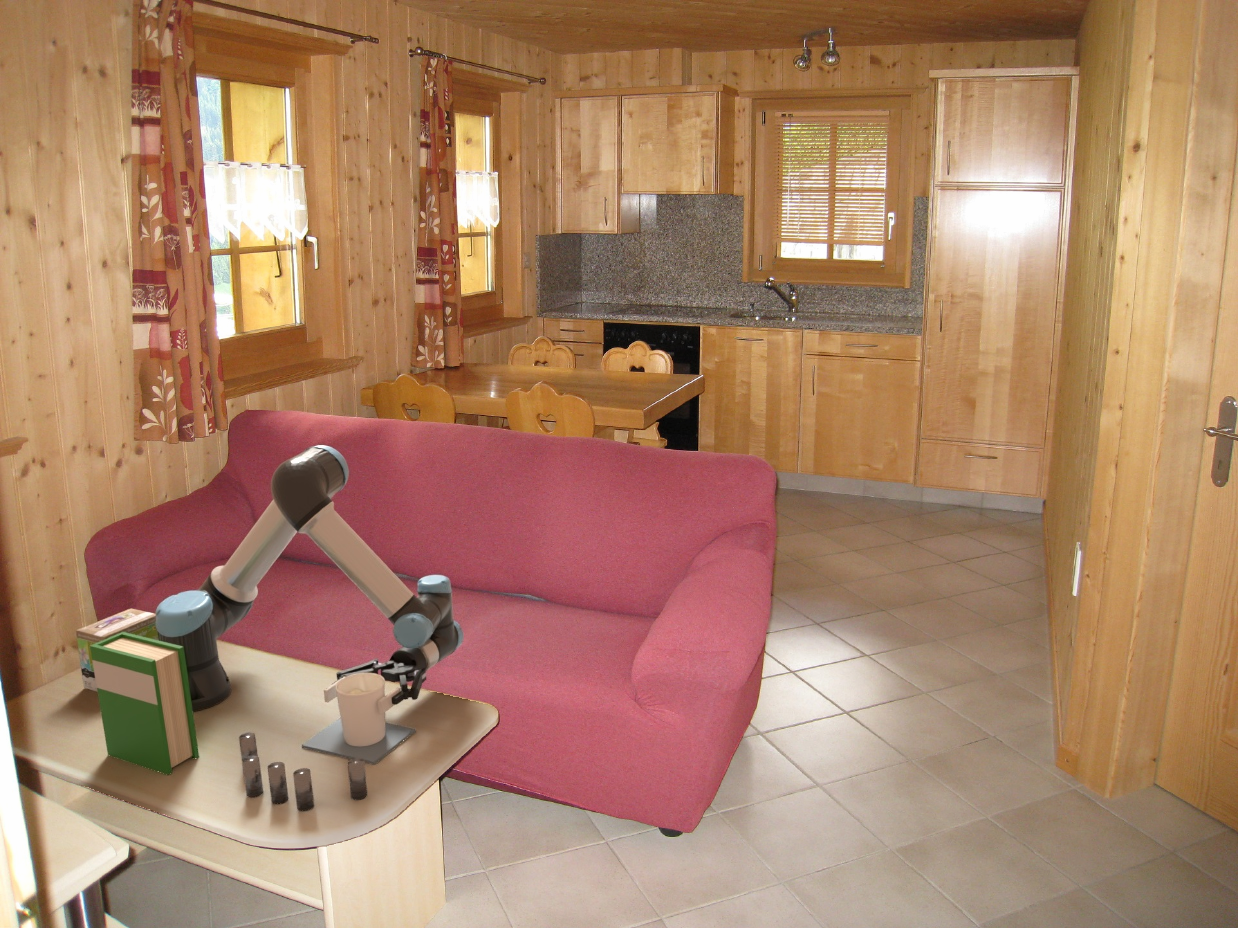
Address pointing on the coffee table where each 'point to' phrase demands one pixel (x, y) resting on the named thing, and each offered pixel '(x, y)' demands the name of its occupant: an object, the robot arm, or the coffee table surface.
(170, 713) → the hardback book
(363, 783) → the spacer posts
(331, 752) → the mat
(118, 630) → the tea box
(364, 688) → the candle holder
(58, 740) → the coffee table surface
